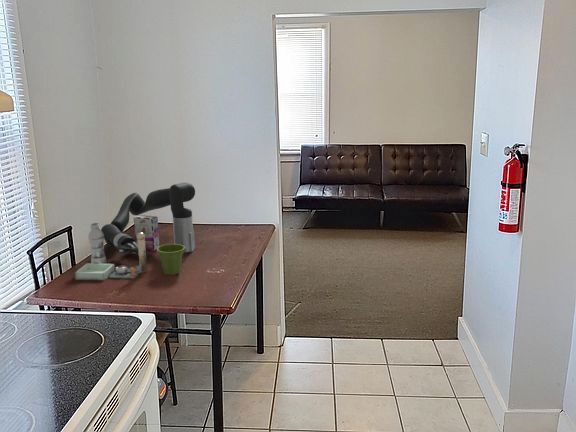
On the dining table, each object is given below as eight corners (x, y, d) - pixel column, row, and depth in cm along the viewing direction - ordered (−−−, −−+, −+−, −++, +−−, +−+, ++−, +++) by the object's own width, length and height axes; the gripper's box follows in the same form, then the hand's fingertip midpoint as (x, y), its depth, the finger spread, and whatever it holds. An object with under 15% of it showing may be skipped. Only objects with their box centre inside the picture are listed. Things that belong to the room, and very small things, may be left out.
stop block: (135, 274, 235) (134, 266, 234) (135, 276, 233) (134, 269, 232) (131, 274, 235) (130, 267, 234) (131, 277, 232) (130, 269, 231)
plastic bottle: (110, 265, 246) (106, 223, 241) (99, 270, 241) (94, 226, 236) (99, 263, 249) (95, 221, 244) (88, 268, 243) (83, 225, 238)
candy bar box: (160, 248, 271) (158, 216, 267) (154, 251, 267) (152, 218, 262) (141, 245, 275) (139, 214, 271) (135, 248, 271) (132, 216, 267)
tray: (115, 270, 240) (114, 263, 239) (104, 280, 229) (103, 273, 228) (87, 270, 241) (86, 263, 240) (75, 279, 230) (74, 272, 229)
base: (141, 271, 238) (140, 269, 238) (134, 278, 231) (134, 276, 230) (116, 271, 239) (116, 269, 239) (109, 277, 231) (109, 275, 231)
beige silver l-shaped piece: (115, 274, 232) (112, 236, 227) (115, 270, 236) (112, 233, 232) (147, 271, 235) (145, 233, 231) (147, 267, 240) (144, 230, 236)
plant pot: (162, 279, 229) (160, 253, 227) (155, 270, 240) (153, 246, 237) (189, 274, 235) (188, 249, 232) (181, 266, 245) (180, 242, 242)
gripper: (138, 247, 255) (155, 257, 242) (111, 253, 247) (127, 263, 234) (137, 232, 253) (154, 241, 240) (109, 238, 245) (125, 247, 232)
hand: (140, 252), depth 237 cm, fingers closed
